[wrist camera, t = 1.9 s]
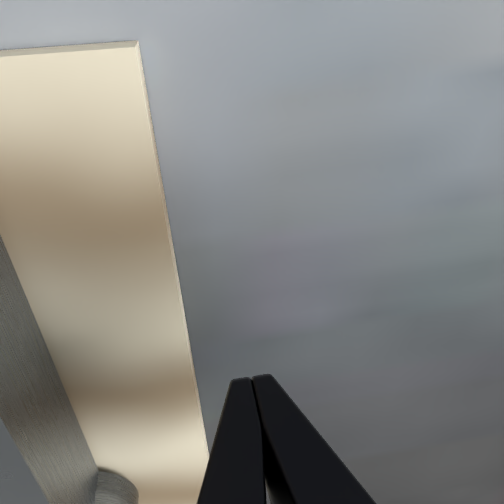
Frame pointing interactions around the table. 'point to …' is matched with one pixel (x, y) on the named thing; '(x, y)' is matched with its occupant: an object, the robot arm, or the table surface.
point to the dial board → (101, 258)
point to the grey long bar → (41, 417)
